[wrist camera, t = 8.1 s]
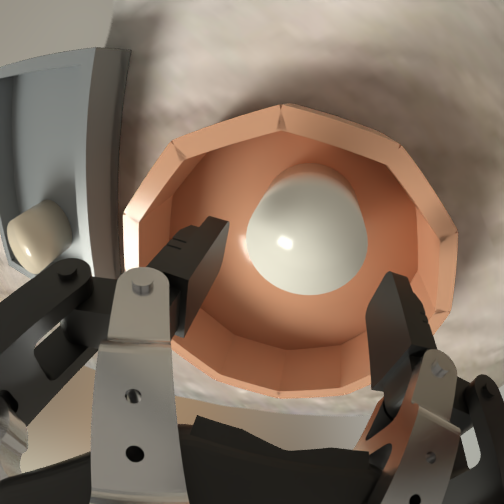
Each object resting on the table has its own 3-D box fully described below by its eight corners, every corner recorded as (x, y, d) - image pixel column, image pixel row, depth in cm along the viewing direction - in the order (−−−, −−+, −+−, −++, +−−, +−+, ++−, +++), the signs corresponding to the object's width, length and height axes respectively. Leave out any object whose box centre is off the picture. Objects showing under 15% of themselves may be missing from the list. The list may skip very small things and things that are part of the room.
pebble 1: (34, 194, 20) (2, 213, 17) (69, 206, 20) (34, 228, 16) (41, 241, 23) (14, 263, 19) (75, 256, 22) (47, 282, 19)
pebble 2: (276, 150, 14) (260, 169, 10) (371, 181, 13) (387, 211, 10) (255, 235, 16) (236, 275, 13) (339, 261, 16) (340, 307, 13)
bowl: (180, 82, 14) (131, 82, 10) (469, 173, 13) (511, 204, 9) (160, 307, 24) (133, 348, 20) (358, 366, 23) (358, 414, 19)
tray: (18, 65, 15) (-12, 70, 12) (131, 50, 14) (95, 47, 11) (29, 248, 25) (8, 265, 22) (122, 292, 24) (102, 317, 21)
